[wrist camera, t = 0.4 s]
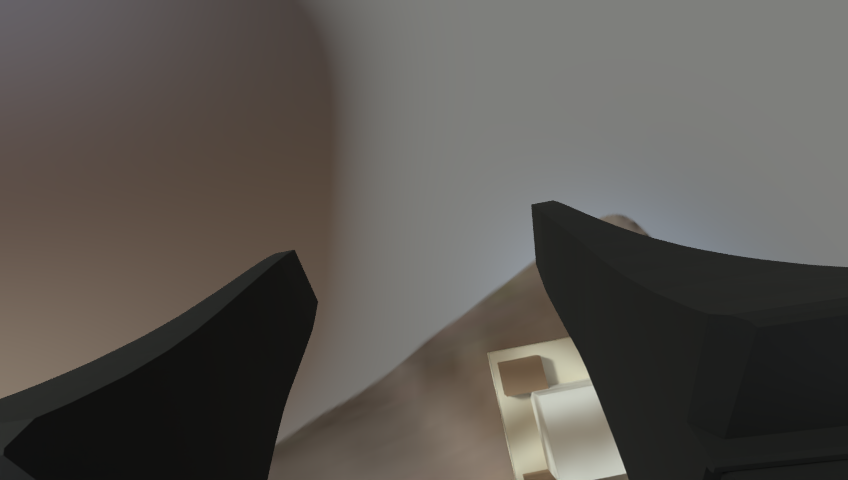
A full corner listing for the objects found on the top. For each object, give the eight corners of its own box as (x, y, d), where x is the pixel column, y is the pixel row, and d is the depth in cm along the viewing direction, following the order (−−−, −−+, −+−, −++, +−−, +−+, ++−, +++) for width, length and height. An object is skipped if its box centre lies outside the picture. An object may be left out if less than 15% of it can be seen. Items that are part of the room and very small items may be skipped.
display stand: (679, 486, 34) (723, 513, 29) (523, 517, 34) (538, 550, 29) (627, 325, 38) (657, 323, 33) (486, 352, 38) (494, 355, 33)
